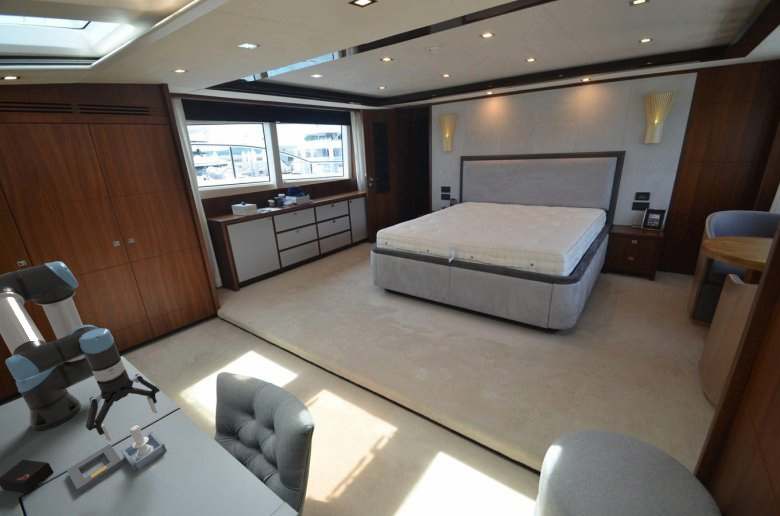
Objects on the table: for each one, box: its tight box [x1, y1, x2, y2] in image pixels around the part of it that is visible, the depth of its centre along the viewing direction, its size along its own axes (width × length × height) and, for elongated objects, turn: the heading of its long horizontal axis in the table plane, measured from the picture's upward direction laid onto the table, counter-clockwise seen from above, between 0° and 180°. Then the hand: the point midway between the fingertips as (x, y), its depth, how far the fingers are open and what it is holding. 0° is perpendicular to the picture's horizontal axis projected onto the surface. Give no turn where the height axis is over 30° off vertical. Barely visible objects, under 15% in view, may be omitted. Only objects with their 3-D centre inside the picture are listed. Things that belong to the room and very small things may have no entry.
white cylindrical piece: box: [129, 424, 154, 459], centre depth 117 cm, size 5×5×12 cm
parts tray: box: [121, 431, 167, 473], centre depth 119 cm, size 11×10×3 cm
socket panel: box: [66, 444, 124, 494], centre depth 114 cm, size 12×12×2 cm
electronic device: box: [0, 459, 55, 494], centre depth 112 cm, size 7×11×5 cm
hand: (132, 424), depth 115 cm, fingers open, 13 cm apart
